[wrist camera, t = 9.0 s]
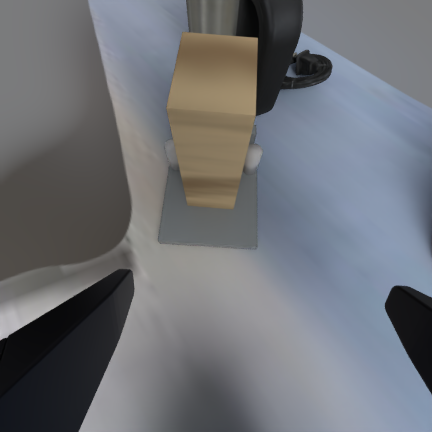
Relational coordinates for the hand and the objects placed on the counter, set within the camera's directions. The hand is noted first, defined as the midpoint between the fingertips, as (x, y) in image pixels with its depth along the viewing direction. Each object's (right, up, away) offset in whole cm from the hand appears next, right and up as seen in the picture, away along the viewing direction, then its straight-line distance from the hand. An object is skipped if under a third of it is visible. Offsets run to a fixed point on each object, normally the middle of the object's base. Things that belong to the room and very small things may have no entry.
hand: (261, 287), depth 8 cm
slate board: (-2, +5, +16) cm, 17 cm away
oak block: (-2, +6, +16) cm, 17 cm away
